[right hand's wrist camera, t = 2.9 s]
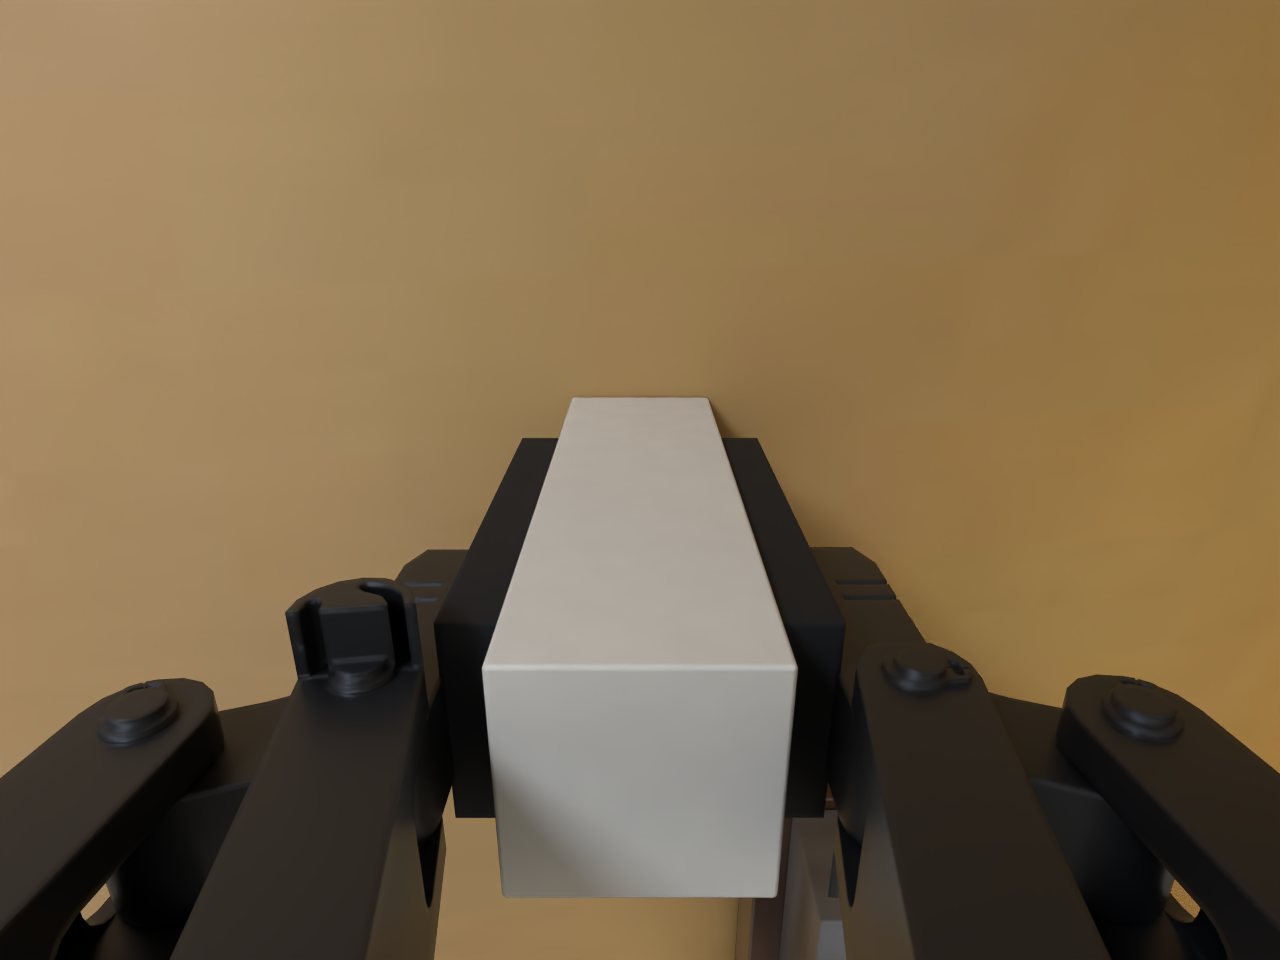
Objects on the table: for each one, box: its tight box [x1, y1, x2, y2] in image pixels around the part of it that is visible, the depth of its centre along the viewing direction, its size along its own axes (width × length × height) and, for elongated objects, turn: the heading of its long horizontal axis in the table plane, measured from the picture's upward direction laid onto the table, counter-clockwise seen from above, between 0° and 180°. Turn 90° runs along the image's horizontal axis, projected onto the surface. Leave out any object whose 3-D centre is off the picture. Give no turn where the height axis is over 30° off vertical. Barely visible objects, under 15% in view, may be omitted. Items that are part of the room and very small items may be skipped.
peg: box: [482, 398, 798, 898], centre depth 12 cm, size 3×3×10 cm
